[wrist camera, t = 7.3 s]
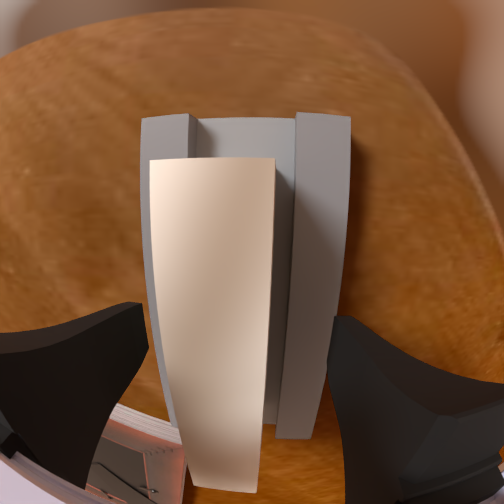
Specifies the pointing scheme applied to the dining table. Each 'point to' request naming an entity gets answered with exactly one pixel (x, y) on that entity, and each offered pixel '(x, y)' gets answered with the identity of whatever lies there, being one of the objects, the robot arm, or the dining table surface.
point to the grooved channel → (275, 242)
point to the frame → (215, 307)
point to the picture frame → (138, 460)
